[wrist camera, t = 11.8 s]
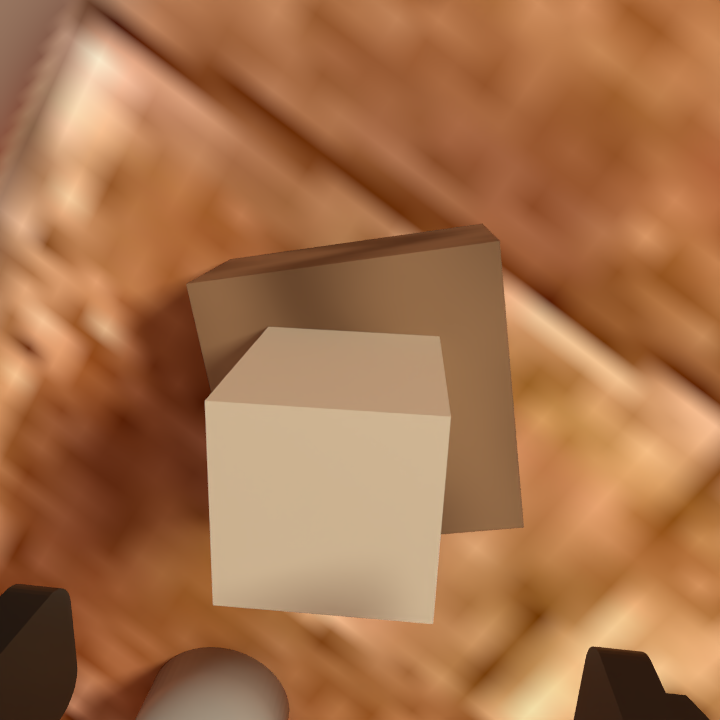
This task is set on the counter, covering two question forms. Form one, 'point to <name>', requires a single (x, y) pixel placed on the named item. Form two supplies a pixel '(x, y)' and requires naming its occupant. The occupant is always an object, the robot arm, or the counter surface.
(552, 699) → the counter surface
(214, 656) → the grey rounded capsule
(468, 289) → the walnut block
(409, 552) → the cream block
